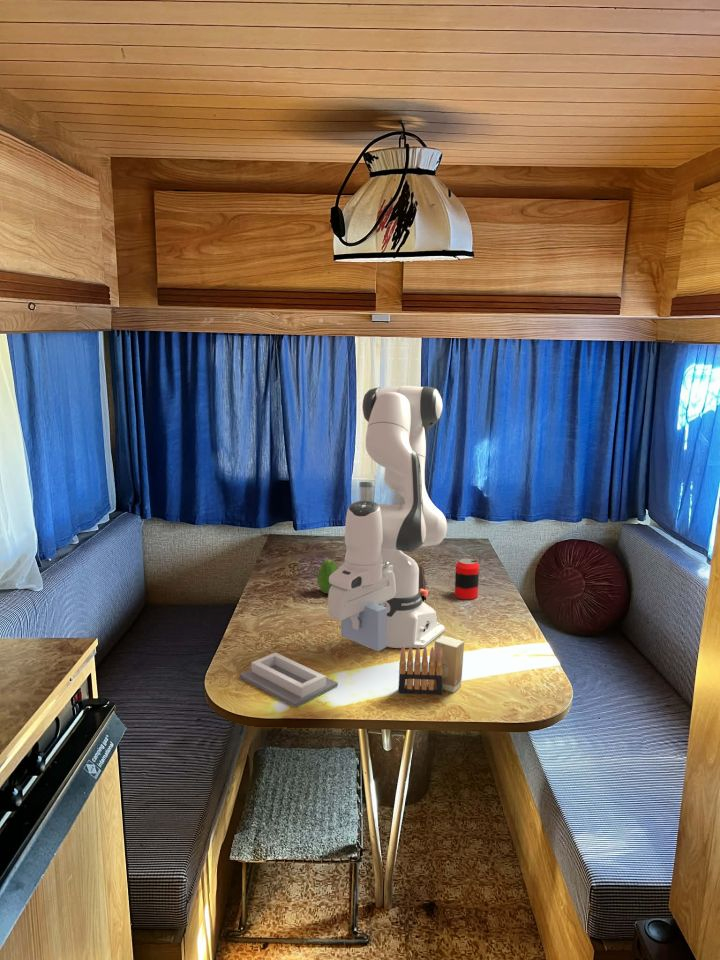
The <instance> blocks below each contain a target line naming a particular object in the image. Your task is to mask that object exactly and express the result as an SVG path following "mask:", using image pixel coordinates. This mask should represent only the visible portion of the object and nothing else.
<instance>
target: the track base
mask: <svg viewBox="0 0 720 960" xmlns="http://www.w3.org/2000/svg"><path fill="white" fill-rule="evenodd" d="M250 665H251V669H248V670H247V671H244V672H241V673H240V674H239V679H241V680H242V681H245V682H247V683H249V684H250V683H251V685H252V684H253V685H252V686H254V687H257V688H258V689H259V690H262V691H264V692H265V693H267V694H268V695H271V696H272V697H275V698H277V699H279V700H280V701H282V702H284V703H285V704H288V705H289V704H290V705H289V706H291V705H292V707H293V706H294V707H293V708H295V707H296V708H298V707H300V706H301V704H302V705H303V704H306V703H307V702H310V701H311V700H314V699H316V698H317V697H319V696H322V695H323V694H325V693H327V692H329V691H332V690H333V688H334V689H336V688H337V686H338V685H339V684H338V682H337V681H334V680H333V679H330V678H328V677H327V675H324V674H322V673H320V672H318V671H317V670H313V669H311V668H309V667H308V666H305V665H303V664H301V663H299V662H297V661H295V660H292V659H291V658H288V657H286V656H285V655H282V654H280V653H278V652H273V653H270V654H268V655H266V656H263V657H261V658H259V659H256V660H254V661H251V664H250ZM335 687H336V688H335ZM299 705H300V706H299ZM297 706H298V707H297Z"/></svg>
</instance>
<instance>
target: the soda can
mask: <svg viewBox="0 0 720 960" xmlns="http://www.w3.org/2000/svg"><path fill="white" fill-rule="evenodd" d="M479 576H480V565H479V563H478V562H477V561H476V559H473V558H460V559H459V560H458V561H457V562H456V564H455V578H454V579H455V580H454V581H455V582H454V596H455V597H456V596H457V597H458V598H457V599H460V598H461V599H460V600H464V599H472V600H475V599H476V598H478V597H479V596H478V595H479V578H480V577H479ZM474 598H475V599H474Z"/></svg>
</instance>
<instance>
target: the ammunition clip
mask: <svg viewBox="0 0 720 960" xmlns="http://www.w3.org/2000/svg"><path fill="white" fill-rule="evenodd" d="M415 649H416V650H415V655H414V654H413V648H411V646H410V648H408V650H407V651H408V652H407V661H406V648H404V646H403V647H402V648H400V657H399V667H398V689H397V693H398V694H401V695H403V694H404V695H406V694H407V695H433V696H443V689H442V668H443V664H442V651H441V648H439V649H438V653H437V662H436V672H435V653H434V647H431V649H430V652H429V661H428V649H427V647H426V646H425V647H424V648H423V651H422V656H421V649H420V648H419V647H417V648H415ZM414 656H415V658H414ZM421 657H422V658H421ZM421 659H422V660H421Z"/></svg>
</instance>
